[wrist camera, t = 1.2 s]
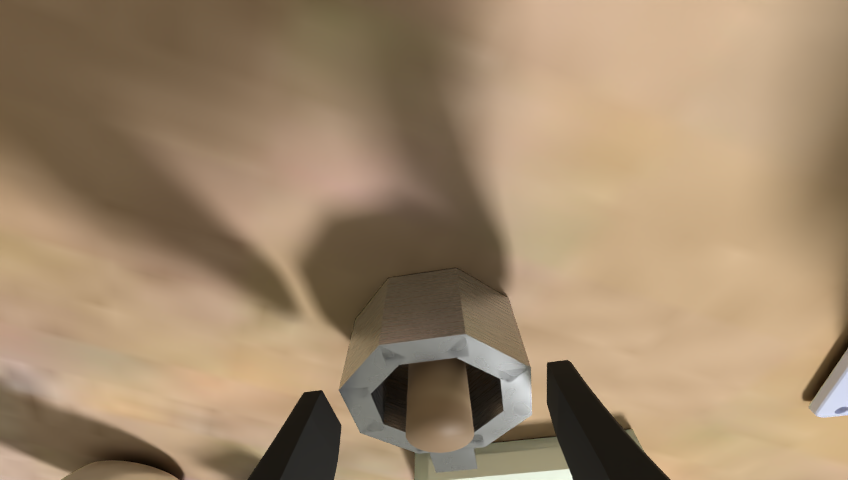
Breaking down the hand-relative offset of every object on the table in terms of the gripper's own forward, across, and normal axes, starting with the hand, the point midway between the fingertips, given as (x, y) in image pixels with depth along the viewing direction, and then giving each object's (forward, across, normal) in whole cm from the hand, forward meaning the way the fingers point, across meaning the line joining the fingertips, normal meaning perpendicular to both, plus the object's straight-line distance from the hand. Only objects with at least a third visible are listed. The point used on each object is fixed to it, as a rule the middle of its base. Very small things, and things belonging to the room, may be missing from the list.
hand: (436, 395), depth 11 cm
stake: (+3, 0, 0) cm, 3 cm away
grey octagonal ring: (+3, 0, 0) cm, 3 cm away
